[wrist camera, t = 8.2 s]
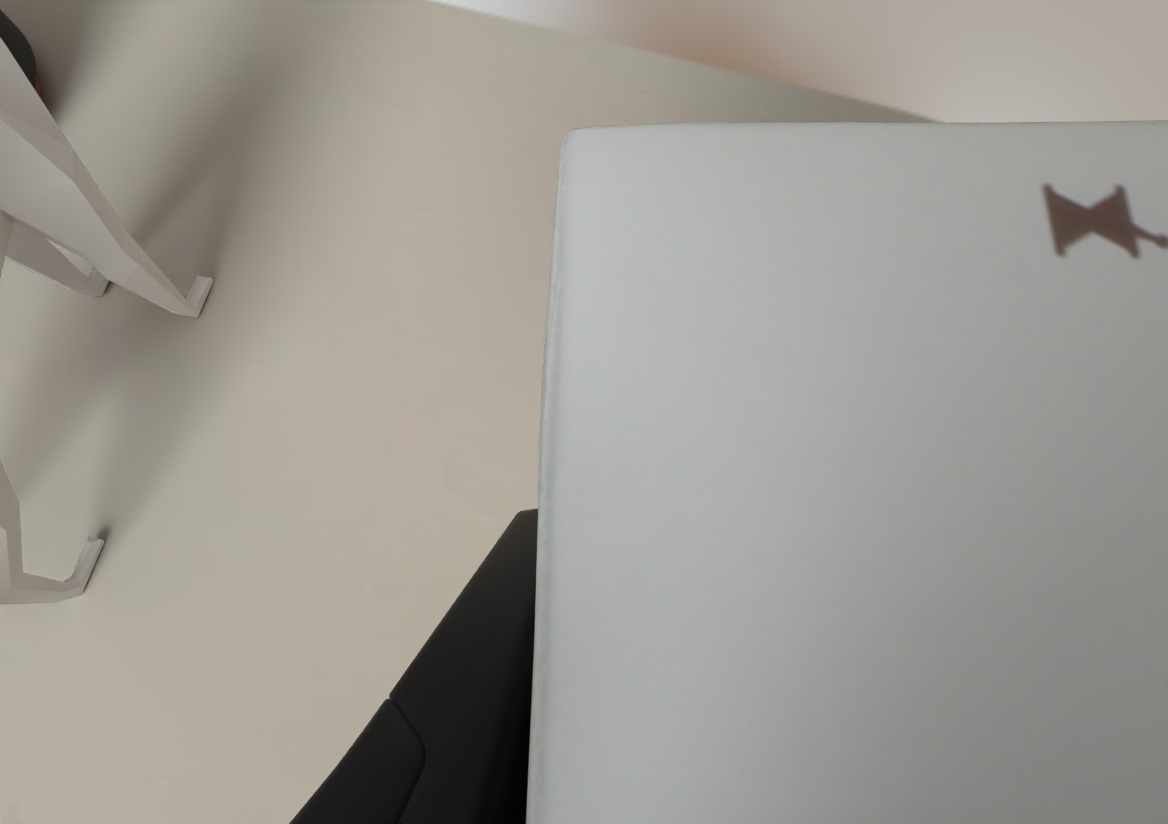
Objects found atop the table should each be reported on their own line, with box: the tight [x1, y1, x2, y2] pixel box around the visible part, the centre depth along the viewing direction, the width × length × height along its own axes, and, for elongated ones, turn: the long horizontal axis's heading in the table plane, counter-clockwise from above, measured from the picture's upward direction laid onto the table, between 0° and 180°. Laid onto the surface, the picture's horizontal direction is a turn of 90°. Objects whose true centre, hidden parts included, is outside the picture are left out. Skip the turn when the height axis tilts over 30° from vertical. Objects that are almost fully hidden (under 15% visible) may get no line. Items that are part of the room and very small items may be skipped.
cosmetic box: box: [526, 120, 1168, 824], centre depth 9 cm, size 6×4×12 cm
